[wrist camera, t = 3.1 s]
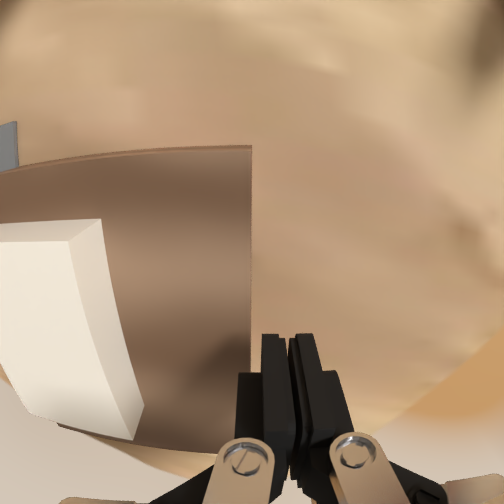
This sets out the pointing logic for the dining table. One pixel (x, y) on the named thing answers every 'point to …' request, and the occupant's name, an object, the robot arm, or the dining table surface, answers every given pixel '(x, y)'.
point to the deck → (164, 273)
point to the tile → (65, 327)
